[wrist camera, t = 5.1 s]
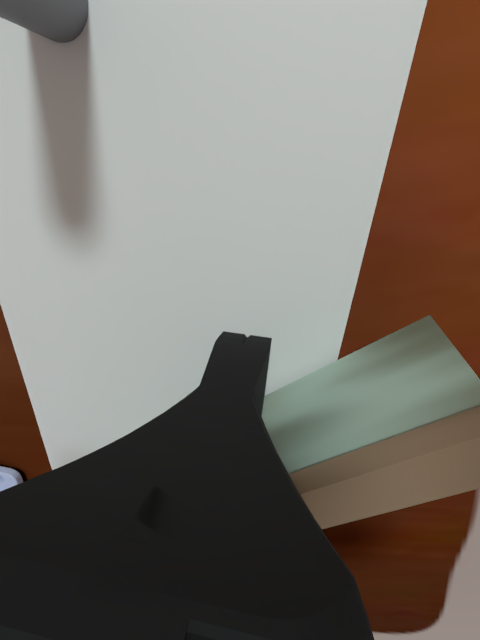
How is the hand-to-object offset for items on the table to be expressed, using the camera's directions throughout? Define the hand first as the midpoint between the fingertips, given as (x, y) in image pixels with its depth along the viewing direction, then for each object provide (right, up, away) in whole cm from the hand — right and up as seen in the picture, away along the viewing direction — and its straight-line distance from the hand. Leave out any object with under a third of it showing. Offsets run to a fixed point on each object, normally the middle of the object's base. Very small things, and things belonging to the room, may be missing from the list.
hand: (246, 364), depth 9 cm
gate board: (-3, +2, +2) cm, 4 cm away
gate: (0, -3, +3) cm, 4 cm away
